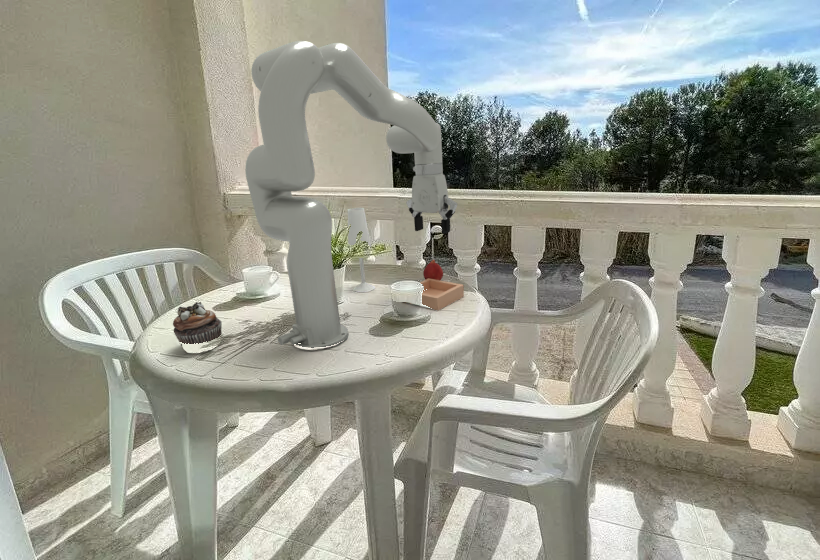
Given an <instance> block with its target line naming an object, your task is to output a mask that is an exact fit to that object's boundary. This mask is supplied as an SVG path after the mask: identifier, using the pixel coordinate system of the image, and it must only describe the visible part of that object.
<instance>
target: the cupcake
mask: <svg viewBox="0 0 820 560" xmlns="http://www.w3.org/2000/svg"><path fill="white" fill-rule="evenodd" d="M172 321H173V322H172V326H173V327H174V328H173V334H174V335H175V337H176V339H177V340H178V343H179V342H182V343H184V344H185V343H186V344H188V343H189V344H194V343H195V344H196V343H198V344H199V343H203V342H206V341H207V342H208V341H211V340H213V339H215V338H218V337H219V336H220V335H221V334H222V329H223V327H222V325H223V324H222V323H223V322H222V320H221V319H219V318H218V317H217V315H216V313H215V312H214V311H213V310H208V309H206V308H205V306H204V304H202V302H201V301H200V302H199V301H196V302H195V303H194V304H192V305H190V306H189V305H188V306H187V307H185V306H179V307H178V308H177V316H175V318H174V320H172Z"/></svg>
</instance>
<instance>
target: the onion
mask: <svg viewBox="0 0 820 560" xmlns="http://www.w3.org/2000/svg"><path fill="white" fill-rule="evenodd" d="M422 275H423V278H424V280H426V279H428V278H430V279H435V280H440V281H442V279H443V277H444V271H443V268H442V266H441V265H439V263H437V262H436V260H435V259H431V261H429V263H427V265H425V267H424V268H423V271H422Z"/></svg>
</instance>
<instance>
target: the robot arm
mask: <svg viewBox="0 0 820 560" xmlns="http://www.w3.org/2000/svg"><path fill="white" fill-rule="evenodd" d="M250 74H251V78H252V81H253V83H254V85H255V87H256V88H257V89H258V91H259V92H260V93H259V99H258V108H257V109H258V112H257V113H258V121H259V125H260V133H261V137H262V143H263V144H260V145H258V146H256V147H254V148H253V149H252V150H251V151H250V152H249V154H248V156H247V157H246V161H245V169H244V170H245V178H246V179H245V180H246V184H247V187H248V191H249V195H250V198H251V202H252V207H253V210H254V214H255V217H256V220H257V223H258V225H259V228H260V229H261V230H262V232H263V233H264V234H265V236H267V237H269V238H271V239H274V240H276V241H280V242H281V241H282V242H287V243H288V245H289V246H288V250H287V255H286V257H287V258H286V269H287V275H288V279H289V286H290V293H291V299H292V305H293V311H294V317H295V323H293V324H292V325H291V328H292V329H291V330H289V332H287V333H284V334H282V335H279V336H278V337H277V342H278V343H279V345H280V346H284V345H286V344H287V343H289V342H290V345H292V346H294V344H296V345H299V346H302V347H311V348H314V347H326V346H331V345H334V344H337V343H339V342H341V341H343V340H344V341H345V340H347V339H348V336H349V328H348V327H347V326H346V325H344V324H342V323H341V320H340V318H341V317H340V312H339V310H340V309H339V303H338V296H337V295H338V294H337V288H336V287H337V286H336V280H335V279H336V278H335V272H334V271H335V270H334V266H333V256H332V255H333V254H332V234H333V233H332V232H333V219H332V214H331V212H330V209H328V207H327V206H326V205H325V204H324V203H323V202H321V201H320V200H317V199H315V198H311V197H307V196H306V197H305V196H304V197H302V196H293V194H292V192H300V191H304V190H306V189H308V188H310V187H311V186H312V185H313V183H314V181H315V177H316V172H315V164H314V163H315V162H314V160H313V154H312V149H311V144H310V138H309V134H308V129H307V121H306V107H307V102H308V100H309V98H310V95H311V94H317V93H318V94H319V93H322V92H327V91H328V92H329V91H331V90H333V91H335V92H336V93H337V94H338V95H340V96H341V98H343V100H345V101H346V102H347V103H348V104H349V105H350V106H351V107H352V109H354V110H355V111H356V112H357V113H358V114H359V115H360V116H361V117H363V118H365V119H367V120H370V121H372V122H373V121H374V122H378V123H383V124H387V125H392V126H391V127H389V128H388V130H387V132H386V136H385V139H386V145H387V147H388V148H389V149H390V150H391V151H392V152H394V153H396V154H413V153H414V155H413V156H414V166H413V167H412V170H413V172H415V175H414V176H413V178H412V184H411V185H412V186H411V198H410V199H408V200H407V201H406V206H407V208H408V211H409V212H410V214H411V216H412V218H413V219H414V220H413V221H414V230H415V232H420V231H422V230H424V217H423V215H422V214H423V213H424V214H425V213H427V214H428V213H430V214H437V213H438V214H439V215H440V216H441V218H442V219H441V220H440V222H441V223H440V224H441V225H440V226H441V233H442V235H445V234H448V233H450V232H451V218H452V217H453V216H454V214H455V213H456V210H457V207H458V202H456V201H454V199H451V198H450V197H449V192H448V191H449V190H448V185H447V180H446V175H445V174H444V173H443V171H444V169H443V148H442V146H443V145H442V130H441V128H442V127H441V125H440V124H439V123H438V122H436V121H435V119H434V118H433V117H432V116H431V114H429V112H428V111H427V109H425V108H424V107H423V106H422V105H420V103H419V102H417V101H415V100H413V99H411V98H409V97H407V96H405V95H404V94H401V93H399V92H398V91H395V90H392V89H391V88H389V87H387V86H386V85H385V84H384V83H383V82H382V81H381V79H380V78H379V77H378V76H377V75H376V74H375V73H374V72H373V71H372V70H371V68H370V67H369V66H368V65H367V64H366V63H365V62H364V60H363V59H362V58H361V57H360V56H359V55H358V54H357V52H355V50H354V49H353V48H351V47H350V46H349V45H348V44H346V43H344V42H333V43H329V44H327V45H323V46H320V47H318V46H317V45H316V44H314V43H313V42H311V41H307V40H295V41H292V42H288V43H286V44H282V45H280V46H278V47H276V48H273V49H270V50H268V51H264V52H262V53H260V54H259V55H258V56H257V57H256V58H255V59H254V60H253V63H252V64H251V73H250ZM344 341H343V342H344ZM298 343H301V344H298Z"/></svg>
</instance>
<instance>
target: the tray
mask: <svg viewBox="0 0 820 560" xmlns="http://www.w3.org/2000/svg"><path fill="white" fill-rule="evenodd" d="M419 282H420V283H421V284H423V286H424V290H425V291H424V290H423V293H422V304H423V305H426V306H428V307H430V308H432V309H434V310H433V311H436V310H437V311H436V312H438V311H440V310H443V308H446V307H447V306H450V305H451V304H452V303H455V302H456V301H457V302H458V301H459V300H460V299H462V298H465V291H464V290H465V289H464V287H465V286H464V284H462V283H457V282H456V283H455V282H451V281H446V280H445V281H444V280H435V279H430V278H428V279H426V280H425V279H424V280H421V281H419ZM426 289H427V290H426ZM432 309H431V310H432Z"/></svg>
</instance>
